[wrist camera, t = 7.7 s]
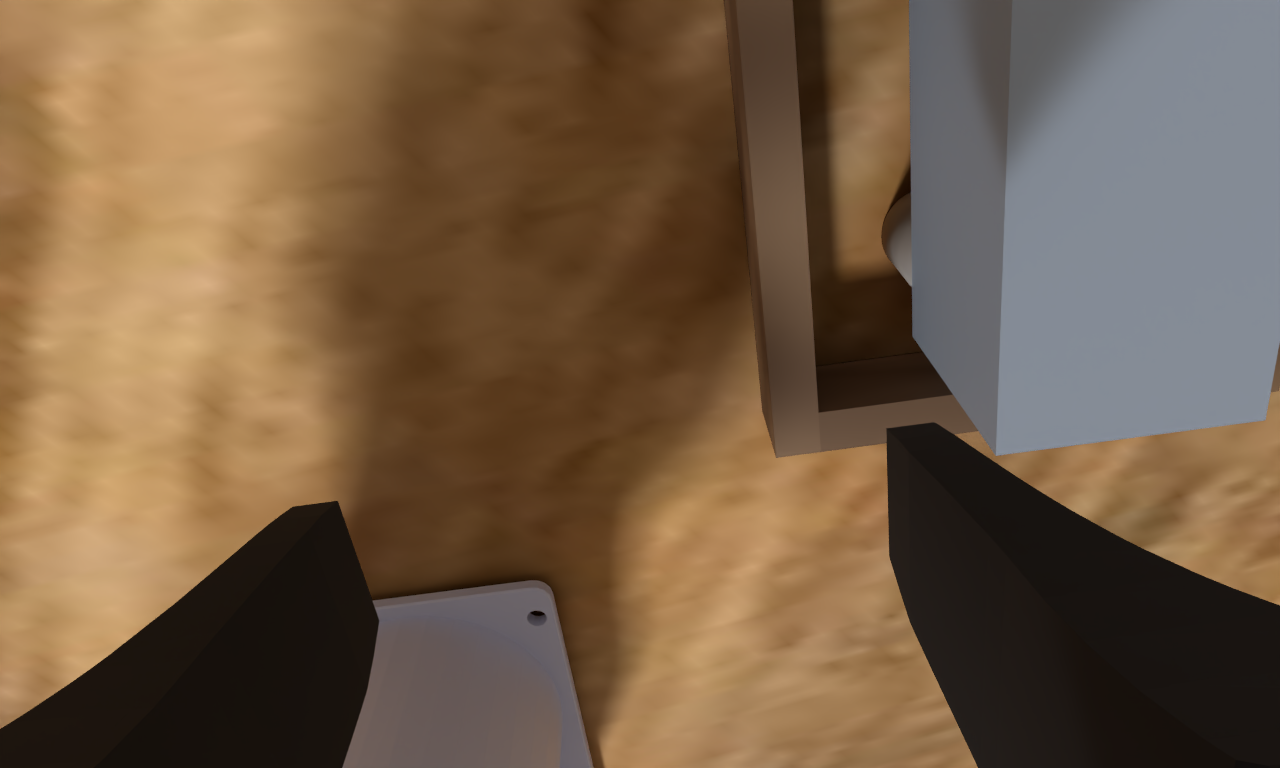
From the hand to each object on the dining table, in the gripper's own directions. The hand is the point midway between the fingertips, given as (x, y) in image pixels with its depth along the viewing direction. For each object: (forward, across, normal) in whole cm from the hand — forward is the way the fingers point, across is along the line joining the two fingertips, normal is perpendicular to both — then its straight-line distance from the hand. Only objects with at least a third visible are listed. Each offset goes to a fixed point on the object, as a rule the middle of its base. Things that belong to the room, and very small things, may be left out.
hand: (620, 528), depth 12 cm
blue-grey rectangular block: (+8, -8, -4) cm, 13 cm away
